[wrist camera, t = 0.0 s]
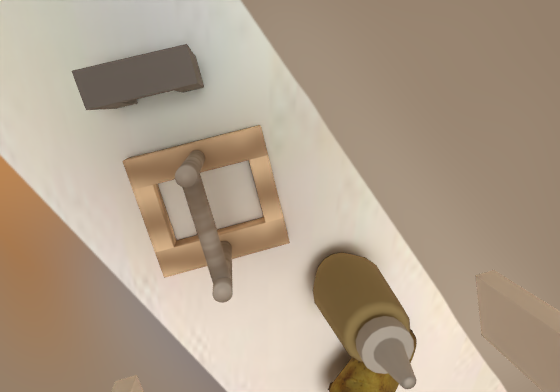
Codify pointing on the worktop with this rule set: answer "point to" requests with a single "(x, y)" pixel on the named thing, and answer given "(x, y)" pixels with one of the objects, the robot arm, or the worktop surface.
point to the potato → (364, 378)
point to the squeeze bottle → (365, 315)
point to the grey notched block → (138, 78)
